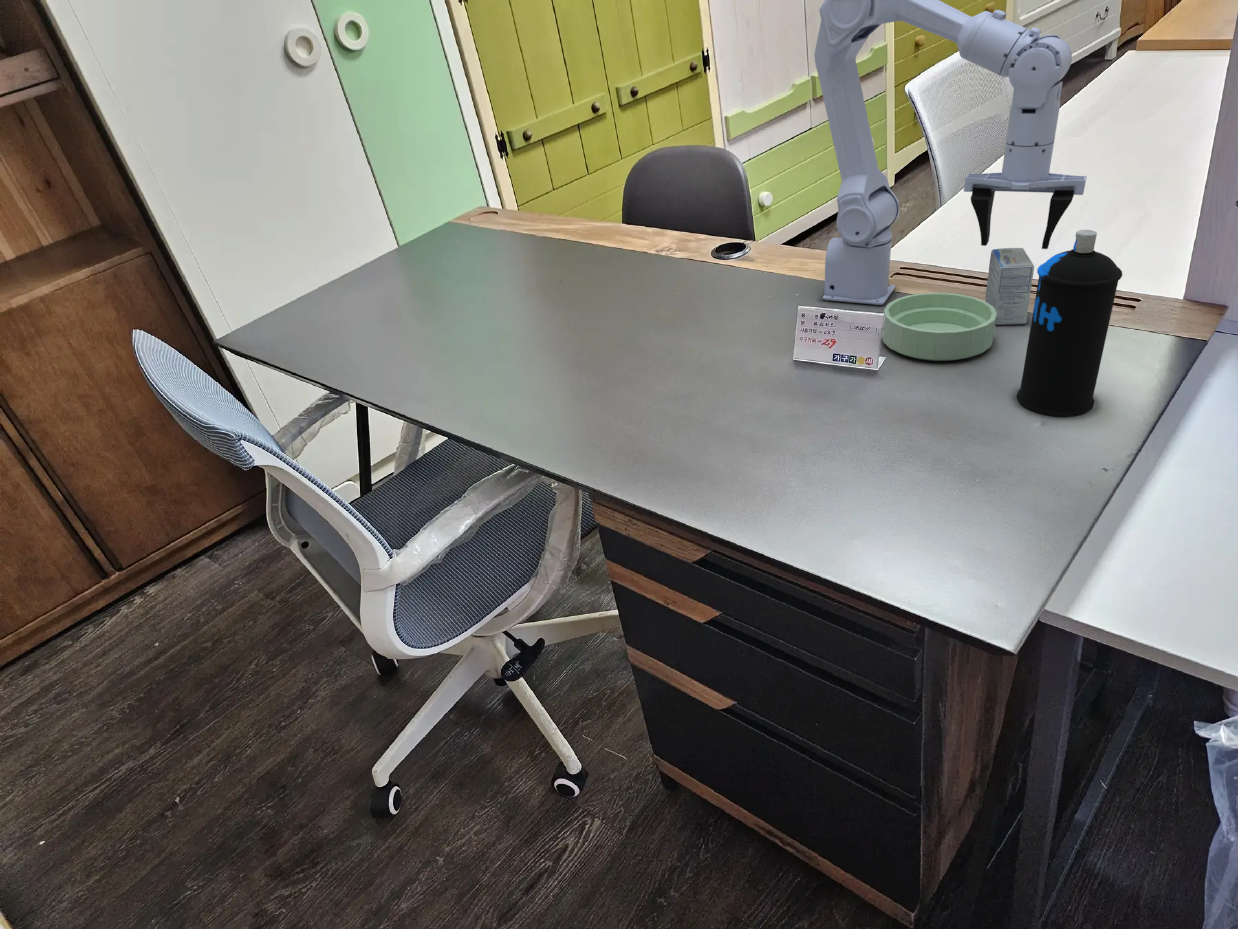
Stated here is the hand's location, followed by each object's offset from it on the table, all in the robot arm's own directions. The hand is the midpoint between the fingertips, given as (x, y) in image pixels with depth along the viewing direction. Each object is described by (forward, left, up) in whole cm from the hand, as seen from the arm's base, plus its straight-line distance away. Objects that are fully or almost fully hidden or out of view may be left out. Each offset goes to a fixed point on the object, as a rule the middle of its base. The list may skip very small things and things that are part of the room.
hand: (1014, 245), depth 116 cm
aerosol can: (+9, -25, -10) cm, 29 cm away
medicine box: (0, 0, -10) cm, 10 cm away
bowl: (-7, -12, -10) cm, 17 cm away
